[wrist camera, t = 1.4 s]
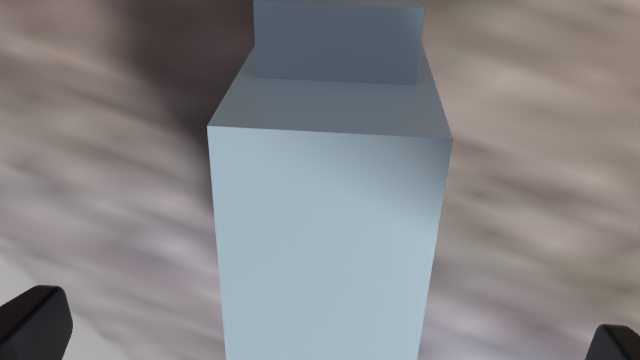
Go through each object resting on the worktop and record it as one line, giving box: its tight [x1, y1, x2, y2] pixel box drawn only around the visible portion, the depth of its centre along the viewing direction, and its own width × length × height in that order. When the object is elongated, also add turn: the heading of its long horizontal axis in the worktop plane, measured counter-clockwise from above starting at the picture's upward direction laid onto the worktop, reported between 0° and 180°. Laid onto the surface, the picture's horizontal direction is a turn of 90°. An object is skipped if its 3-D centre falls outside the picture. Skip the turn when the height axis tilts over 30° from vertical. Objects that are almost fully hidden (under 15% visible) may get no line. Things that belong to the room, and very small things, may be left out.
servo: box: [207, 0, 453, 360], centre depth 13 cm, size 4×9×6 cm, turn 179°
